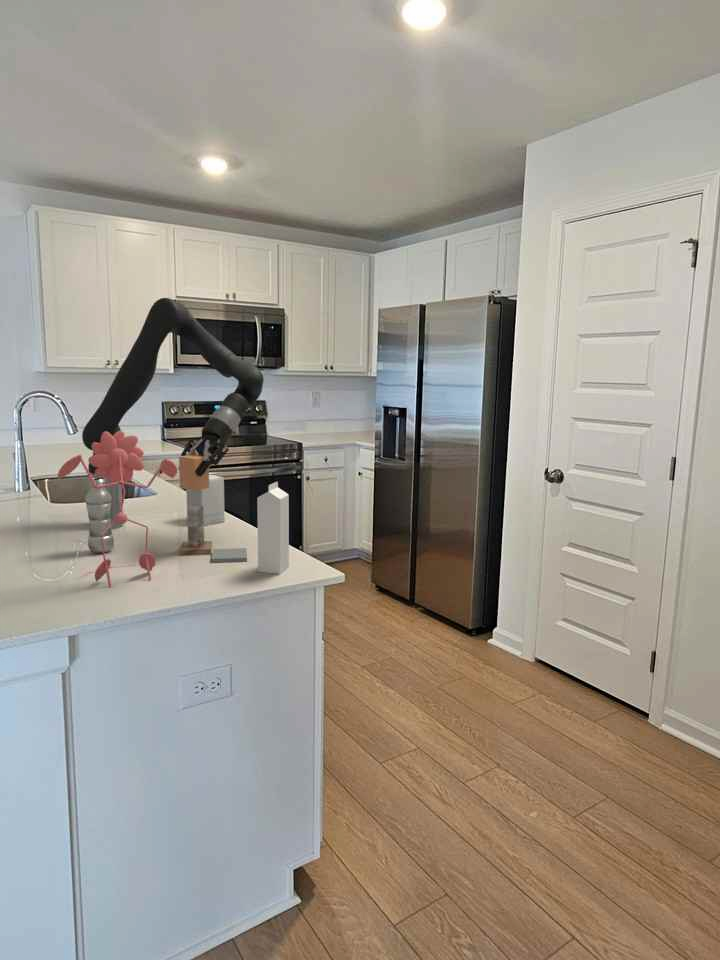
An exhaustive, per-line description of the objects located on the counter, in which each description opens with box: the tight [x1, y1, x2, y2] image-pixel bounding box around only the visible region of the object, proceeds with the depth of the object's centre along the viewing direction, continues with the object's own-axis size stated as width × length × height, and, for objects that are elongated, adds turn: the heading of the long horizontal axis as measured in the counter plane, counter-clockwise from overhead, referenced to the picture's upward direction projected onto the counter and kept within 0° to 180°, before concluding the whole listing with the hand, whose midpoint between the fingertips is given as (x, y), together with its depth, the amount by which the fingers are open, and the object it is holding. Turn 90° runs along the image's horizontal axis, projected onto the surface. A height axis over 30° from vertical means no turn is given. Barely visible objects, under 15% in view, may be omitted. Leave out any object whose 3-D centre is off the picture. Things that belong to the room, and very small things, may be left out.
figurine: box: [57, 430, 178, 588], centre depth 146 cm, size 15×26×35 cm, turn 126°
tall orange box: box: [178, 454, 210, 491], centre depth 167 cm, size 5×6×8 cm
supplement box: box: [185, 473, 226, 526], centre depth 201 cm, size 9×9×15 cm
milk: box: [256, 481, 290, 575], centre depth 154 cm, size 6×6×22 cm
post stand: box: [179, 505, 213, 556], centre depth 169 cm, size 11×11×12 cm
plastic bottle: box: [84, 478, 115, 554], centre depth 166 cm, size 6×7×20 cm
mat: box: [211, 547, 248, 564], centre depth 165 cm, size 9×9×1 cm
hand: (189, 473), depth 165 cm, fingers closed on tall orange box, 6 cm apart
